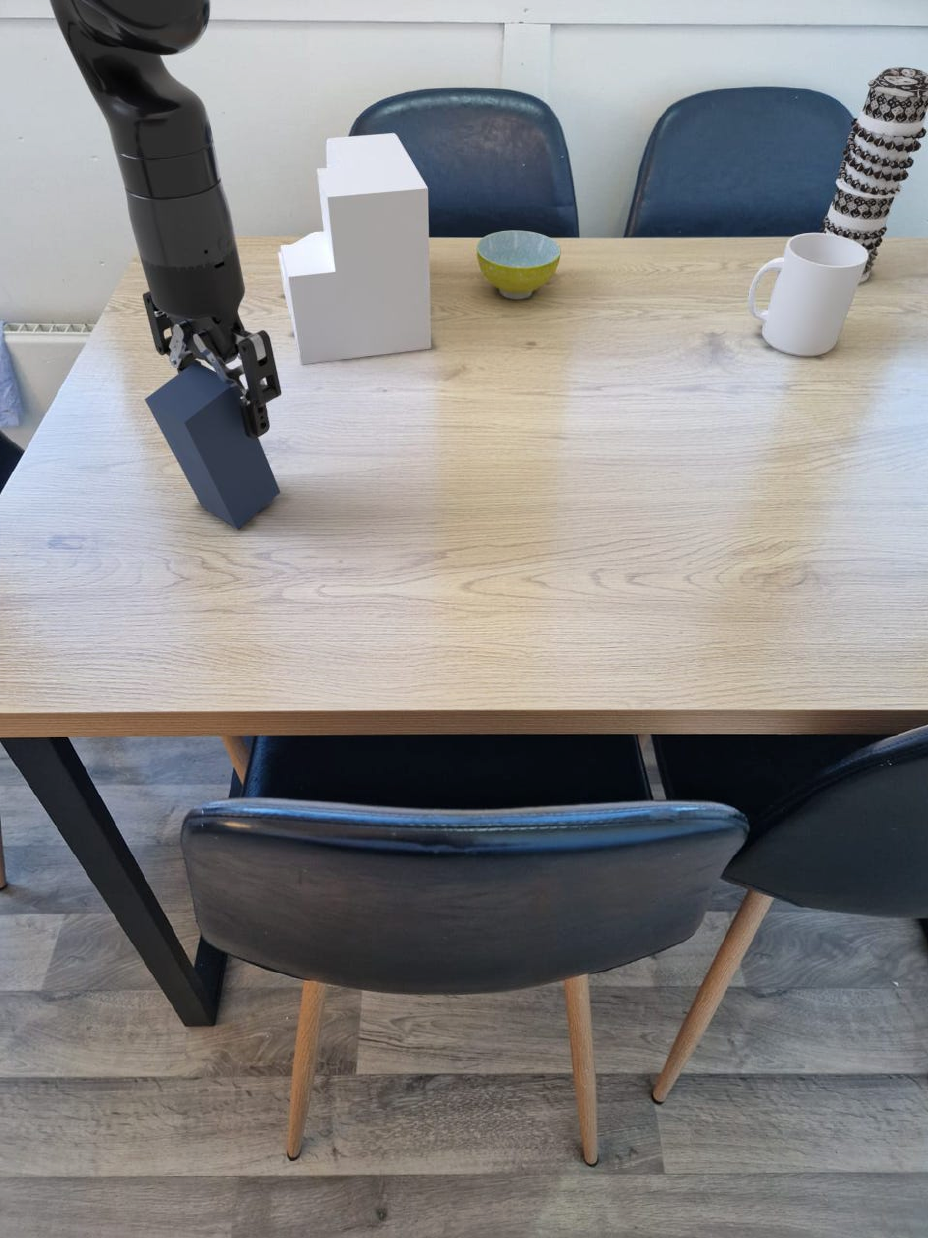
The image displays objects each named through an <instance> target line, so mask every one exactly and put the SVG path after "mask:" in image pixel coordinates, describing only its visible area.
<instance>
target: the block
mask: <svg viewBox="0 0 928 1238" xmlns="http://www.w3.org/2000/svg"><path fill="white" fill-rule="evenodd" d="M325 158H326V159H325V160H326V161H325V162H326V167H321V168H319V167H318V168H316V174H317V175H316V176H317V183H318V193H319V201H320V208H321V209H320V210H321V211H320V212H321V218H322V227H323V228H322V229H323V231H314V232H313V231H312V232H311V233H309V234H307V235H305V236H304V237H302V238H300V239H299V240H297V241H295V242H294V243H292V244H290V243H289V244H281V245H280V244H279V245H280V251H278V252H277V255H278V256H277V257H278V263H279V269H280V275H281V282H282V288H283V289H282V290H283V293H284V297H285V298H284V299H285V302H286V306H287V311H288V314H289V320H290V323H291V327H292V332H293V335H294V340H295V344H296V347H297V352H298V356H299V359H300V365H310V364H318V363H325V362H333V361H341V360H342V361H343V360H349V359H357V358H358V359H359V358H365V357H373V356H381V355H390V354H397V353H398V354H399V353H405V352H414V351H421V350H430V349H432V322H431V321H432V320H431V319H432V318H431V314H432V313H431V273H430V271H431V270H430V267H431V266H430V223H429V221H430V220H429V187H428V186H427V183H426V182H425V181H424V179H423V177H422V175H421V174H420V172H419V170H418V169H417V167H416V166H415V164H414V162H413V161H412V158H411V157H410V155H409V153H408V152H407V150H406V148H405V146H404V144H403V143H402V142H401V140H400V138H399V136H398V135H397V134H396V133H395V132H391V133H378V134H377V133H376V134H364V135H352V136H338V137H328V138H327V139H326V144H325Z"/></svg>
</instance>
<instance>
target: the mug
mask: <svg viewBox="0 0 928 1238" xmlns="http://www.w3.org/2000/svg"><path fill="white" fill-rule="evenodd" d="M867 260H868V252H867V250H866V249H865V248H864V247H863V246H862V245H860V244H858V243H857V242H855V241H853V240H850V239H848V238H845V237H841V236H837V235H832V234H826V233H820V232H807V233H805V232H804V233H801V234H796V235H794V236H792V237H790V238H789V239H788V240H787V241H786V245H785V248H784V251H783V256H781V257H775V258H773V259H771V260H769V261H768V262H766V263H765V264H764V265H762V266H761V267H760V268H759V270H758V271H757V273H756V274H755V275H754V278H753V280H752V282H751V284H750V288H749V292H748V299H747V306H748V310H749V313H750V314H751V315H752V317H753V318H754V319H757V320H758V321H760V322H761V323H762V329H761V334H762V338H763V339H764V340H765V341H766V342H767V344H768V345H769V346H770V347H772V348H773V349H775V350H777V351H779V352H781V353H784V354H787V355H790V356H794V357H796V356H797V357H805V358H806V357H807V358H808V357H817V356H820V355H821V356H822V355H823V354H825V353H828V352H829V351H831V350H833V348H834V347H835V346H836V344H837V342H838V340H839V339H840V335H841V333H842V330H843V327H844V324H845V321H846V319H847V316H848V313H849V311H850V308H851V306H852V302H853V300H854V297H855V294H856V292H857V289H858V287H859V285H860V283H859V281H860V278H861V276H862V273H863V270H864V268H865V265H866V262H867ZM769 271H776V272H777V274H776V278H775V282H774V286H773V289H772V292H771V296H770V299H769V301H768V302H769V303H768V306H767V309H765V310H762V311H761V310H758V308H757V306H756V302H755V299H756V298H755V297H756V291H757V287H758V284H759V283H760V280H761V278H763V276H764V275H765V273H767V272H769Z"/></svg>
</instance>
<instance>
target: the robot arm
mask: <svg viewBox="0 0 928 1238" xmlns="http://www.w3.org/2000/svg"><path fill="white" fill-rule="evenodd" d="M211 2H212V1H211V0H49V4H50V6H51V8H52V12H53V15H54V18H55V20H56V23H57V25H58V28H59V30H60V33H61V34H62V36H63V39H64V40H65V43H66V46H67V47H68V49H69V51H70V53H71V55H72V57H73V59H74V61H75V63H76V66H77V67H78V70H79V71H80V74H81V76H82V78H83V80H84V82H85V84H86V86H87V88H88V90H89V92H90V94H91V95H92V97H93V99H94V101H95V103H96V105H97V106H98V108H99V110H100V112H101V114H102V116H103V118H104V120H105V121H106V125H107V127H108V129H109V134H110V138H111V139H110V140H111V142H112V146H113V151H114V154H115V157H116V162H117V165H118V168H119V169H118V170H119V172H120V175H121V180H122V183H123V186H124V190H125V195H126V202H127V203H126V204H127V210H128V217H129V221H130V225H131V229H132V232H133V233H132V234H133V236H134V240H135V243H136V247H137V250H138V254H139V259H140V261H141V265H142V268H143V272H144V276H145V280H146V283H147V287H148V290H149V291H146V292H144V293H143V294H142V299H143V303H144V307H145V311H146V315H147V320H148V322H149V327H150V331H151V335H152V339H153V343H154V347H155V350H156V352H157V354H159V355H160V356H162V357H163V356H165V355H166V356H167V357H168V361H169V363H170V365H171V367H173V368H174V369H176V371H177V375H178V374H179V373H180V372H182V371H183V370H184V369H186V368H187V367H188V366H190V365H191V364H192V363H194V362H195V361H196V362H198V363H200V364H202V362H201V361H205V363H207V364H208V365H209V366H210V367H212V368H213V371H215V372H216V373H217V375H218V376H219V378H220V380H221V381H222V382H223V383H225V384H229V385H230V386H231V388H232V389H233V391H234V393H235V394H236V396H237V398H238V399H239V401H240V403H239V406H240V411H241V415H242V420H243V425H244V429H245V434H246V436H247V437H249V438H251V439H253V440H254V439H257V438H261V436H264V435H265V434H267V432H268V431H269V430H270V427H271V425H270V417H269V413H268V408H267V403H269V402H271V401H273V400H274V399H277V398H278V397H281V395H282V388H281V383H280V378H279V374H278V369H277V364H276V360H275V355H274V350H273V346H272V340H271V337H270V335H269V333H268V332H267V331H266V330H263V329H261V330H259V331H257V332H254V333H253V332H250V331H248V330H246V328H245V326H244V324H243V322H242V320H241V317H240V315H239V308H240V305H241V302H242V301H243V299H244V296H245V293H246V292H245V291H246V286H245V281H244V276H243V271H242V270H243V269H242V266H241V260H240V254H239V250H238V244H237V240H236V234H235V228H234V224H233V217H232V213H231V209H230V204H229V201H228V198H227V195H226V192H225V189H224V185H223V182H222V177H221V173H220V172H221V171H220V168H219V162H218V157H217V153H216V152H217V151H216V147H215V141H214V137H213V131H212V126H211V122H210V118H209V115H208V111H207V108H206V105H205V104H204V103H203V100H202V99H201V97H200V96H199V95H198V94H197V93H196V92H195V91H193V90H192V89H191V88H189V87H188V86H186V85H184V84H183V83H181V81H179V80H177V79H176V78H175V77H174V76H173V75H172V74H171V73H170V71H169V70H168V68H167V67H166V65H165V63H164V61H163V58H162V56H175V55H179V54H182V53H184V52H187V51H189V50H190V49H192V48H193V47H194V46H195V45H196V44H198V42H199V41H200V40H201V39H202V37H203V35H204V33H205V32H206V30H207V28H208V24H209V22H210V17H211V7H212V4H211ZM168 329H170V333H171V335H170V336H169V335H168V336H167V337H165V331H166V330H168ZM236 359H238V360H240V361H241V364H240V365H237V366H236V367H235V368H229V367H228V366H227V365H228V364H230V363H232V362H234V361H235V360H236ZM241 376H244V378H245V381H246V386H247V388H246V387H245V386H244V384H243V382H242V381H241V379H240V378H241ZM264 379H265V380H264Z"/></svg>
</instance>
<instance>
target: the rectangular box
mask: <svg viewBox="0 0 928 1238" xmlns="http://www.w3.org/2000/svg"><path fill="white" fill-rule="evenodd" d="M144 401H145V403H146V405H147V408H148V409H149V410H150V413H151V414H152V416H153V419H154V420H155V422H156V424H157V425H158V427H159V429H160V430H161V433H162V436H163V437H164V438H165V440H166V443H167V444H168V447H169V448H170V450H171V451H172V454H173V456H174V457H175V459H176V461H177V463H178V465H179V467H180V469H181V471H182V472H183V475H184V477H185V478H186V479H187V482H188V484H189V486H190V487H191V489H192V491H193V493H194V495H195V497H196V499H197V500H198V503H199V504H200V506H201V507H202V509H204V510H205V511H208V513H211V514H212V515H213V516H215V517H217V518H218V519H220V520H221V521H223V522H225V523H226V524H228V525H229V526H231V527H232V528H233V529H235V530H237V531H238V530H240V529H241V528H242V527H243V526H244V525H246V523H248V522H249V521H250V520H251V519H252V518H253V517H254V516H256V515H257V514H258V513H259V512H260V511H261V510H262V509H263V508H264V507H266V506H267V505H268V504H269V503H271V502H272V501H273V500H274V499H275V498H276V497H277V496H278V495H280V494H281V490H280V487H279V484H278V482H277V480H276V477H275V475H274V472H273V470H272V468H271V465H270V463H269V460H268V458H267V456H266V453H265V451H264V448H263V445H262V443H261V440H260V439H259V438H260V437H258V438H257V439H254V440H253V439H251V438H249V437H247V436H246V434H245V429H244V425H243V420H242V415H241V411H240V406H239V403H240V401H239V399H238V398H237V396H236V394H235V393H234V391H233V389H232V388H231V386H230V385H229V384H225V383H223V382H222V381H221V380H220V378H219V376H218V375H217V373H216V371H215V370H214V369H211V368H209V367H207V366H206V365H204V364H202V363H201V364H200V363H198V362H196V361H195V362H194V363H192V364H191V365H190V366H188V367H187V368H186V369H184V370H183V371H182V372H180V373H179V374H178V373H177V374H176V375H175V376H173V377H172V378H171V379H169V380H168V381H167V382H166V383H164V384H162V386H160V387H159V388H157V389H156V390H155V391H153V392H152V393H150V394H149V395H148V396H147V397H146V398H144Z"/></svg>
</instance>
